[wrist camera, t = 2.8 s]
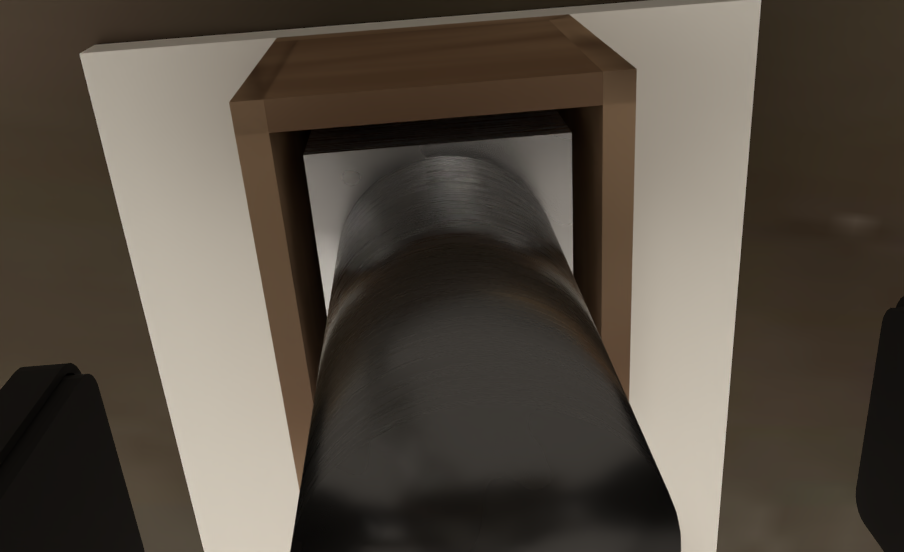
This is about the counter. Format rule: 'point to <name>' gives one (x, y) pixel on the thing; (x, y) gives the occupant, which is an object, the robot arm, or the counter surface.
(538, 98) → the walnut sleeve
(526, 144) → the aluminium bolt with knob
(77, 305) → the counter surface
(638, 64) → the grey base board
